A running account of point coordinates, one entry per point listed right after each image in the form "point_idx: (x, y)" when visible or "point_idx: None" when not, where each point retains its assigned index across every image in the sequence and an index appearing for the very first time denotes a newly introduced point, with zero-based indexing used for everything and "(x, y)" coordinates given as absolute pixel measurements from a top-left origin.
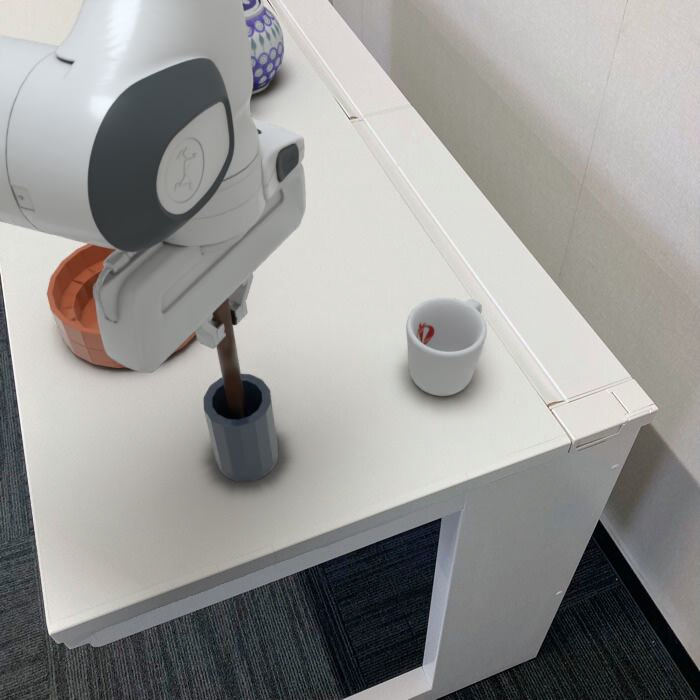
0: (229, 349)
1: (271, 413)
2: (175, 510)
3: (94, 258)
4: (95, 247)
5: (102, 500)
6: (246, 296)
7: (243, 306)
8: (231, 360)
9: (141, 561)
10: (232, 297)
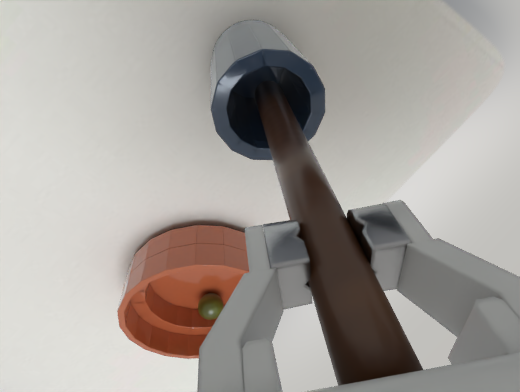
0: (320, 177)
1: (238, 50)
2: (357, 76)
3: (198, 340)
4: (193, 351)
5: (380, 143)
6: (246, 284)
7: (265, 257)
8: (310, 156)
9: (426, 56)
10: (276, 301)
